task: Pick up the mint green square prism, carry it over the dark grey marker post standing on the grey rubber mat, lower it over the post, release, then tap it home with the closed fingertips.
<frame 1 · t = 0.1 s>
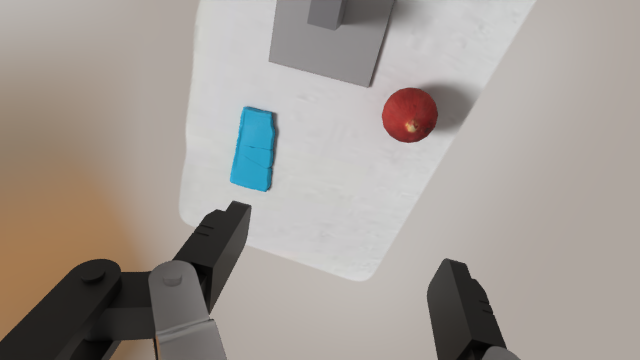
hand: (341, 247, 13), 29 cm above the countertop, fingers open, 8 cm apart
mat: (332, 8, 35), on the countertop
post: (328, 9, 32), on the mat
onion: (406, 105, 39), on the countertop
sponge: (258, 149, 45), on the countertop
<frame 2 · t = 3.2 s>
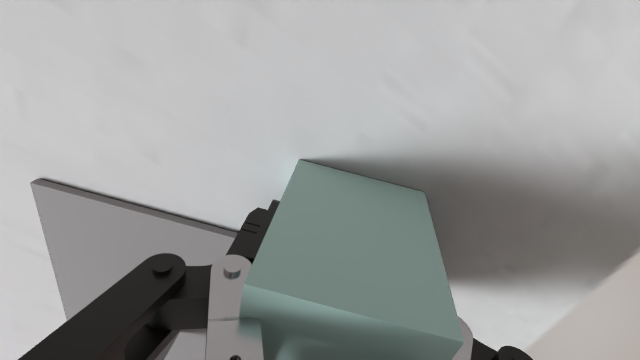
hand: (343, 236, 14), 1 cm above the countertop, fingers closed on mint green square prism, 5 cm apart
mat: (162, 306, 19), on the countertop
mint green square prism: (345, 225, 15), on the countertop, touching gripper, mat
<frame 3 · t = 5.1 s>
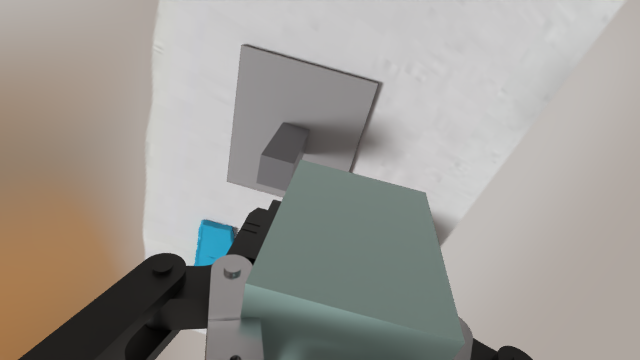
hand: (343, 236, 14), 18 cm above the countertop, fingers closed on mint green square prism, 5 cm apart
mat: (294, 136, 32), on the countertop
post: (285, 154, 28), on the mat
mint green square prism: (346, 225, 15), point 17 cm above the countertop, touching gripper
sponge: (220, 256, 42), on the countertop
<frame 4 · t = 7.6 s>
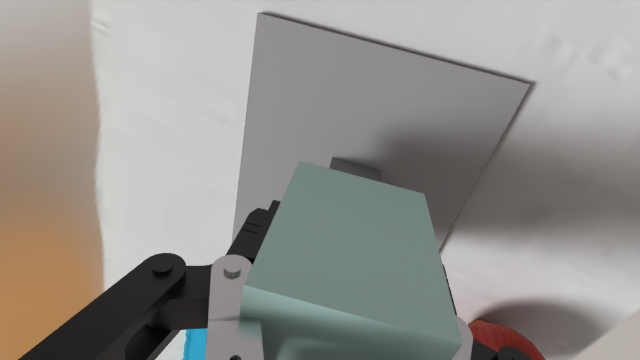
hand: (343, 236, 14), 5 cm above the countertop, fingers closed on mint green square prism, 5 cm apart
mat: (350, 180, 18), on the countertop
post: (345, 224, 15), on the mat
mint green square prism: (345, 226, 15), point 4 cm above the countertop, touching gripper
onion: (477, 321, 22), on the countertop
sponge: (221, 346, 28), on the countertop
when the fingers open (3 cm above the countertop, at t = 8.3 s): mint green square prism drops 1 cm, resting on post.
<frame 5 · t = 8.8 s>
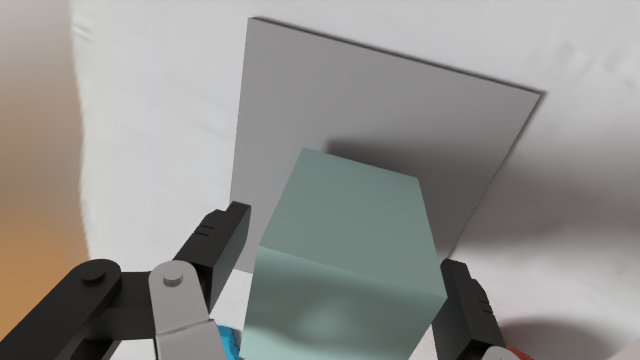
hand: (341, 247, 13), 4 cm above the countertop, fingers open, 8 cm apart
mat: (348, 194, 17), on the countertop
mint green square prism: (344, 209, 16), point 1 cm above the countertop, touching post
onion: (481, 339, 21), on the countertop
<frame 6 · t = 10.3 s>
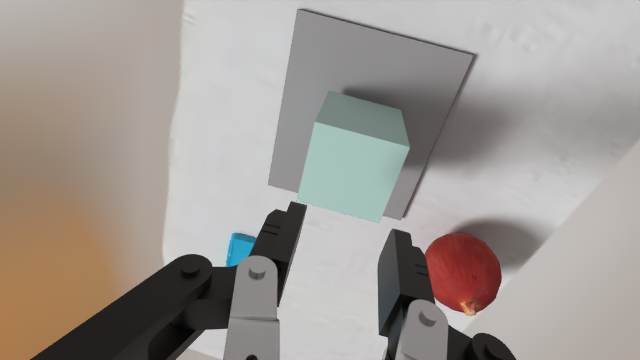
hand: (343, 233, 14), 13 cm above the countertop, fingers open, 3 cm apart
mat: (356, 127, 26), on the countertop
mint green square prism: (354, 133, 24), point 1 cm above the countertop, touching post
onion: (450, 239, 30), on the countertop
sponge: (251, 275, 36), on the countertop
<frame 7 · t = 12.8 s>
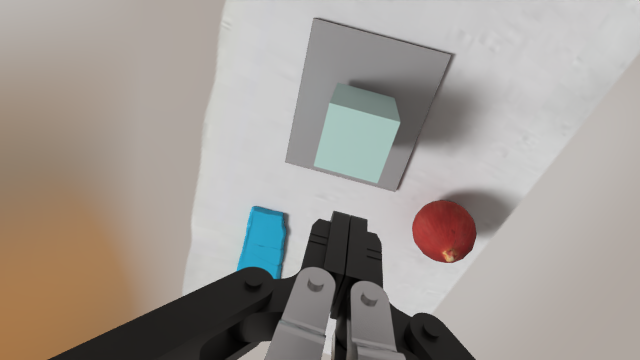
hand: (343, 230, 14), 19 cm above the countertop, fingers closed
mat: (358, 113, 32), on the countertop
mint green square prism: (357, 117, 30), point 1 cm above the countertop, touching post
onion: (436, 208, 36), on the countertop
sponge: (267, 244, 42), on the countertop
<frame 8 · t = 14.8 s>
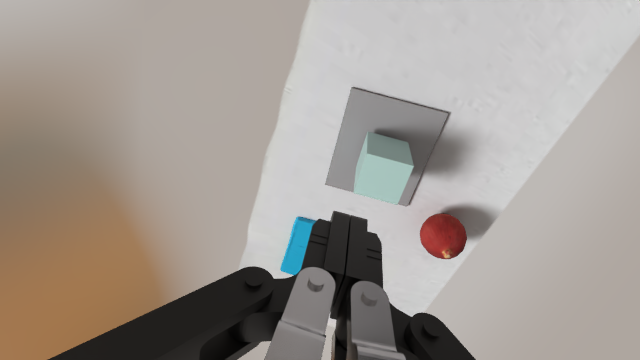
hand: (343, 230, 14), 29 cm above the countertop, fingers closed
mat: (381, 150, 43), on the countertop
mint green square prism: (381, 155, 42), point 1 cm above the countertop, touching post
onion: (437, 218, 48), on the countertop
sponge: (305, 245, 54), on the countertop
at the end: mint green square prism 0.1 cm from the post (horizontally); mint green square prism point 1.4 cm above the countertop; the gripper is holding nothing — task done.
